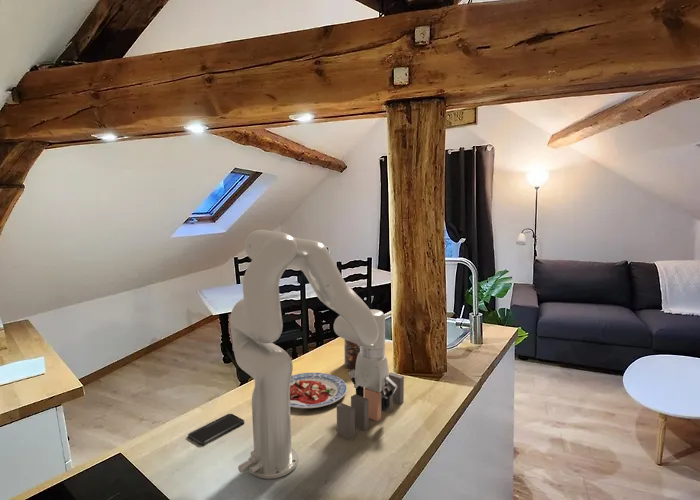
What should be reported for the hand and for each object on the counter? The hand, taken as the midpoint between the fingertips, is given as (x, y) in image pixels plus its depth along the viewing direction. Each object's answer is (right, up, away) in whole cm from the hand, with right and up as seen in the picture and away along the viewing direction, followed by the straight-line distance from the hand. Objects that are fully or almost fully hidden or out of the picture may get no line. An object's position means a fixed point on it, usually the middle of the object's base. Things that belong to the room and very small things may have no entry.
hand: (372, 403), depth 131 cm
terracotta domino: (0, -4, +1) cm, 4 cm away
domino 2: (-4, -5, -4) cm, 8 cm away
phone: (-46, -6, -5) cm, 47 cm away
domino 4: (+8, -3, +11) cm, 14 cm away
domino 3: (+4, -4, +6) cm, 8 cm away
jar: (-3, +1, +39) cm, 39 cm away
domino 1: (-8, -6, -9) cm, 14 cm away
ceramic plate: (-21, -3, +16) cm, 26 cm away
